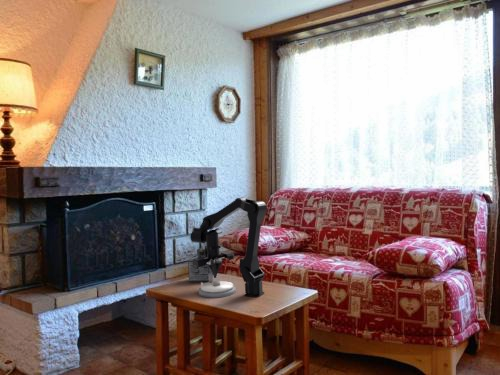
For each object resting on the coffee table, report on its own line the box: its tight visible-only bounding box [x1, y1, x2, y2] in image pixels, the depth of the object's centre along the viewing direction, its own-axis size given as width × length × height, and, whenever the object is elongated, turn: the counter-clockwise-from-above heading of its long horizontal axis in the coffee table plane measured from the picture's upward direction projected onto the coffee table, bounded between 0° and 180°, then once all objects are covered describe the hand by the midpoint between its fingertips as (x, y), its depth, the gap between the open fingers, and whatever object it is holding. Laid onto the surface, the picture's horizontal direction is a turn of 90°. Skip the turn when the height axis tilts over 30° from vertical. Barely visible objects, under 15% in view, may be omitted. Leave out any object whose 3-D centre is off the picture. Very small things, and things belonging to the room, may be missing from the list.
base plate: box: [198, 282, 236, 299], centre depth 184 cm, size 16×16×4 cm
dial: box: [200, 273, 234, 293], centre depth 184 cm, size 14×14×5 cm
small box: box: [187, 257, 212, 283], centre depth 205 cm, size 11×6×10 cm, turn 84°
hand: (214, 277), depth 191 cm, fingers closed
